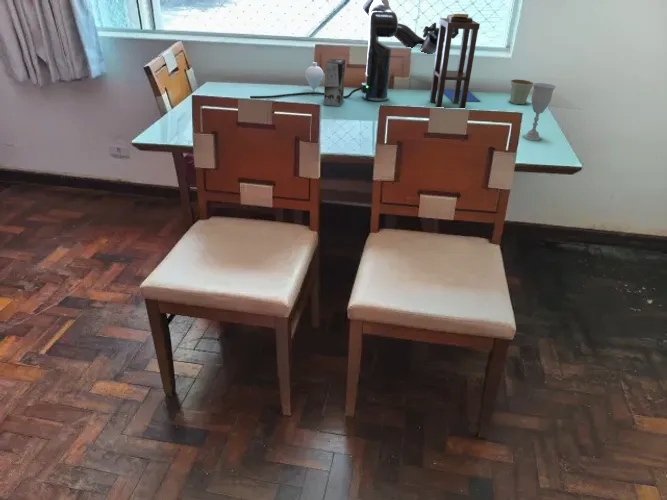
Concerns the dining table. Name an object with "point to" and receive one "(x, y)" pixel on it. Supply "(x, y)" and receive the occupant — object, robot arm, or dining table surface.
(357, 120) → the dining table surface
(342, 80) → the coffee box
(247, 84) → the dining table surface
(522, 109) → the dining table surface
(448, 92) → the cloth
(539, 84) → the chalice
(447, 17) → the spoon
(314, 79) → the spinning top
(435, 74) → the stand
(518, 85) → the flower pot
